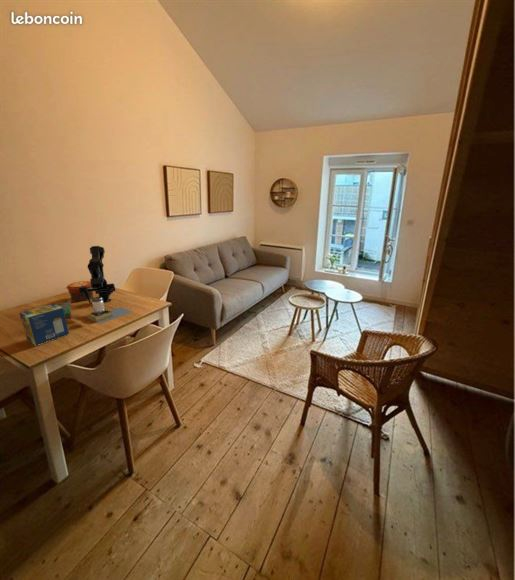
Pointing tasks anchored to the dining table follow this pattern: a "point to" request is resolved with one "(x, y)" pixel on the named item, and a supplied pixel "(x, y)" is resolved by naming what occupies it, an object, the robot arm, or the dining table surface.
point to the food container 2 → (74, 290)
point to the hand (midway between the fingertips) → (98, 301)
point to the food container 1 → (65, 308)
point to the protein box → (44, 323)
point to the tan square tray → (102, 317)
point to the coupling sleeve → (98, 306)
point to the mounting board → (116, 314)
